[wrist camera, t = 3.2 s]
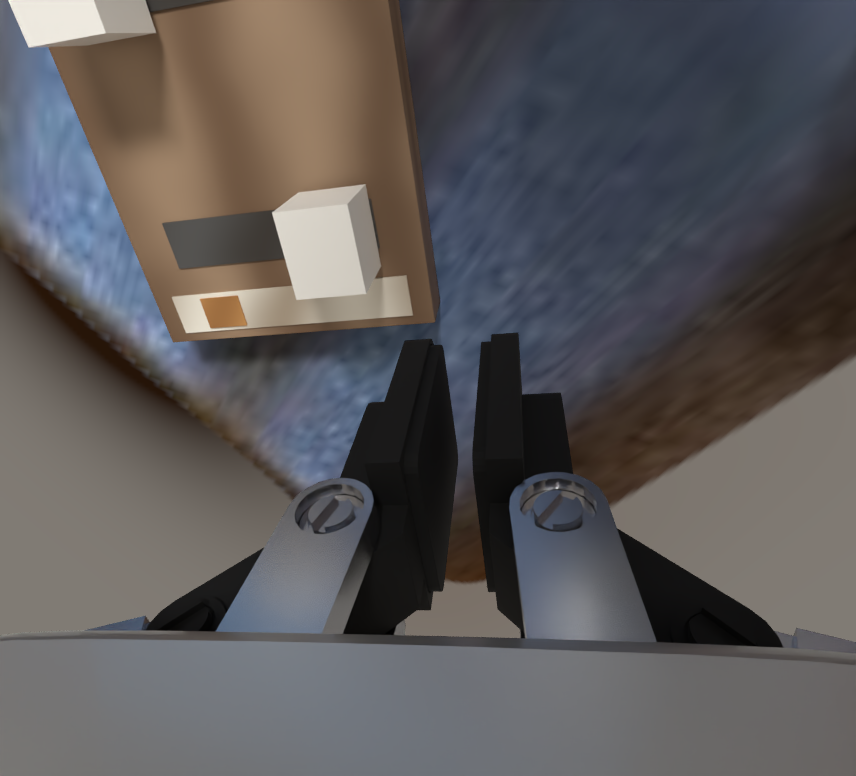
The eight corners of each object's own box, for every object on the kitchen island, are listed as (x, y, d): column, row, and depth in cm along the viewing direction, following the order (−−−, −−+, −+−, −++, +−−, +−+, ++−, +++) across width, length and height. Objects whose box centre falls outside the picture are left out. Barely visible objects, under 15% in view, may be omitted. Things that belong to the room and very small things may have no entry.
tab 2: (365, 184, 23) (347, 203, 21) (381, 266, 25) (366, 294, 23) (298, 192, 24) (271, 212, 21) (318, 272, 26) (296, 300, 23)
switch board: (364, -250, 19) (345, -288, 16) (440, 301, 29) (434, 323, 27) (8, -157, 21) (-51, -179, 19) (195, 321, 32) (171, 343, 29)
